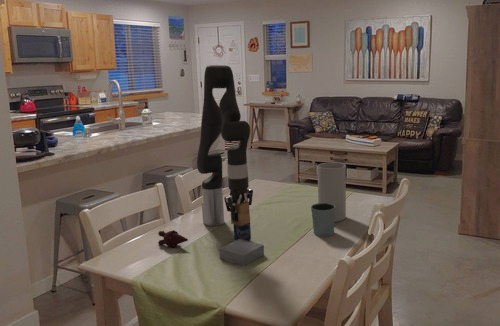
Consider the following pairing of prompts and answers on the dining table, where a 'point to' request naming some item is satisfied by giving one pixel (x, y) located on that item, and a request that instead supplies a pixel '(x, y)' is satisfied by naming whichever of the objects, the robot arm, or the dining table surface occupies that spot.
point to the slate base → (241, 251)
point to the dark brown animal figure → (171, 238)
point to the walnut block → (242, 214)
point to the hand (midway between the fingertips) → (240, 219)
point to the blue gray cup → (323, 219)
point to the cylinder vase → (333, 187)
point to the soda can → (242, 232)
